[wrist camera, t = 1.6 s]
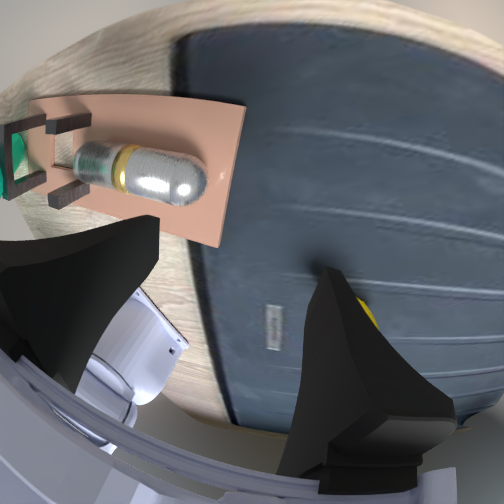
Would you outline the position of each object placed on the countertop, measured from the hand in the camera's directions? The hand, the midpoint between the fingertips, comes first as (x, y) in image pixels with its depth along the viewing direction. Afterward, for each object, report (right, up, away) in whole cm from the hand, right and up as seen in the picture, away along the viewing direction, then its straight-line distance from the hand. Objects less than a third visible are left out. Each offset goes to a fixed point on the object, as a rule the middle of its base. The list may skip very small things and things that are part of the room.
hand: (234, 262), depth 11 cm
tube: (-8, +7, +9) cm, 14 cm away
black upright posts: (-18, +10, +10) cm, 23 cm away
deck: (-13, +9, +10) cm, 18 cm away
